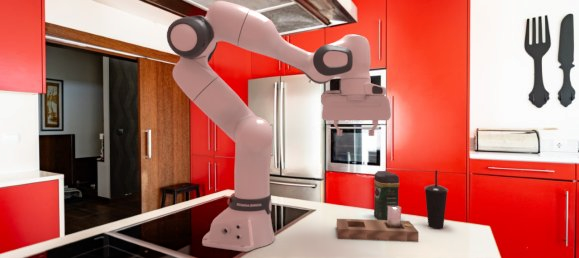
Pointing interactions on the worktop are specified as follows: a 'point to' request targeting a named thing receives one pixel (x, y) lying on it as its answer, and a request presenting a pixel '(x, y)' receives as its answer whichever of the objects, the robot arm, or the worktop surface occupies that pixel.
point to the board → (375, 230)
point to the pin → (394, 217)
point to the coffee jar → (385, 193)
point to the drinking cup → (436, 204)
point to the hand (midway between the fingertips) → (355, 135)
